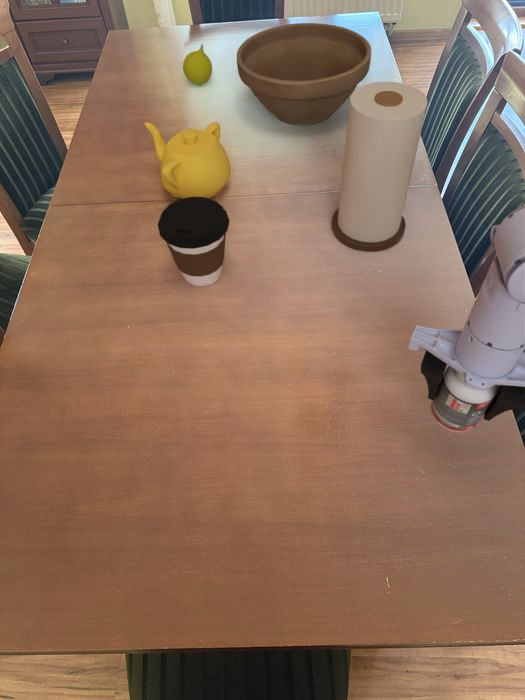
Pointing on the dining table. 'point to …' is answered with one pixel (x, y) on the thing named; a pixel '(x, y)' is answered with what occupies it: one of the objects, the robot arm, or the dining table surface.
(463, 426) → the pill bottle
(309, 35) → the flower pot
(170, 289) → the dining table surface
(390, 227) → the paper towel roll
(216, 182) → the teapot
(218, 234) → the coffee cup
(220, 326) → the dining table surface
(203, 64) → the yellow-green pear
